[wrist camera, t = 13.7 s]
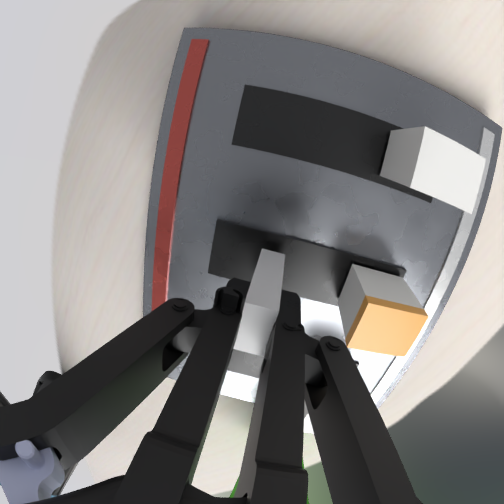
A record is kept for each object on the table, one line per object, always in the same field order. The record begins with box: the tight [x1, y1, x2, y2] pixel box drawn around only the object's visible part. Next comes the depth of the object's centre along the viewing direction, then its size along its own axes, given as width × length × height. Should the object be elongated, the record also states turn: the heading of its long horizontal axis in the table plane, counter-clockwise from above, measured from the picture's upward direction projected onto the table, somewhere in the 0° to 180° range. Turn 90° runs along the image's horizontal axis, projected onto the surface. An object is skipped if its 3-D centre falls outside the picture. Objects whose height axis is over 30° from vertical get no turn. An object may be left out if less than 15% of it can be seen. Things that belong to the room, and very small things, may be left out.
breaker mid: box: [338, 264, 429, 357], centre depth 16 cm, size 4×3×5 cm
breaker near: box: [380, 126, 486, 214], centre depth 13 cm, size 4×3×5 cm
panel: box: [143, 28, 502, 409], centre depth 20 cm, size 24×30×2 cm
